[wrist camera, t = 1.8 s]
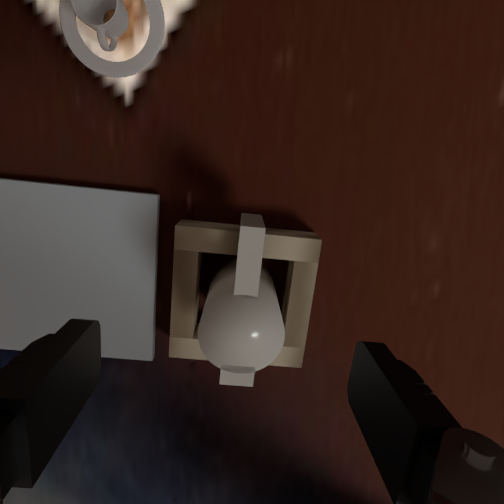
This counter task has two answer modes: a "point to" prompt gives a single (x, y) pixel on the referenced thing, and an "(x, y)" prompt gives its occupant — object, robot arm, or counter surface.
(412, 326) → the counter surface
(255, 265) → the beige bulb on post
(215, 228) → the frame
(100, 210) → the pad
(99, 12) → the teacup and saucer
